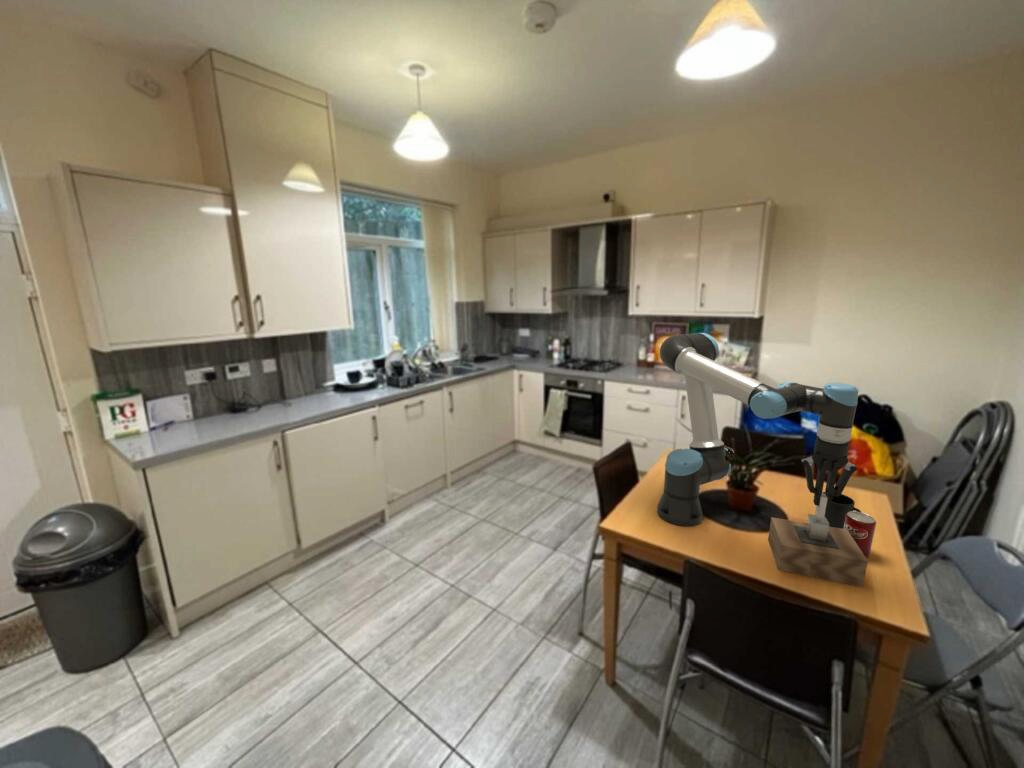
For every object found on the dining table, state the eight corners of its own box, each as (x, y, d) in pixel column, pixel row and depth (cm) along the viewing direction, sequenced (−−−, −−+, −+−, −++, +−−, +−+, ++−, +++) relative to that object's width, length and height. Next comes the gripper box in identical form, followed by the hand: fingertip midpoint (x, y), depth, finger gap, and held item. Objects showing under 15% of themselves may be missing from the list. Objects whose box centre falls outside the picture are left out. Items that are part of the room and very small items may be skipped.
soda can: (857, 561, 127) (864, 525, 124) (833, 547, 134) (840, 512, 131) (875, 556, 129) (883, 521, 126) (850, 543, 135) (857, 509, 133)
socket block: (778, 569, 123) (782, 544, 121) (768, 539, 138) (771, 516, 136) (862, 586, 116) (868, 560, 114) (842, 552, 131) (847, 528, 129)
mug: (859, 535, 139) (864, 510, 137) (815, 523, 147) (819, 499, 145) (859, 522, 147) (864, 498, 145) (817, 511, 154) (821, 488, 152)
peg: (808, 545, 124) (812, 521, 123) (804, 537, 128) (808, 514, 126) (824, 548, 123) (829, 523, 121) (820, 540, 127) (824, 516, 125)
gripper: (808, 440, 117) (796, 517, 122) (866, 446, 112) (851, 526, 118) (801, 432, 124) (790, 505, 129) (856, 437, 119) (842, 513, 125)
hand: (819, 515), depth 123 cm, fingers closed
